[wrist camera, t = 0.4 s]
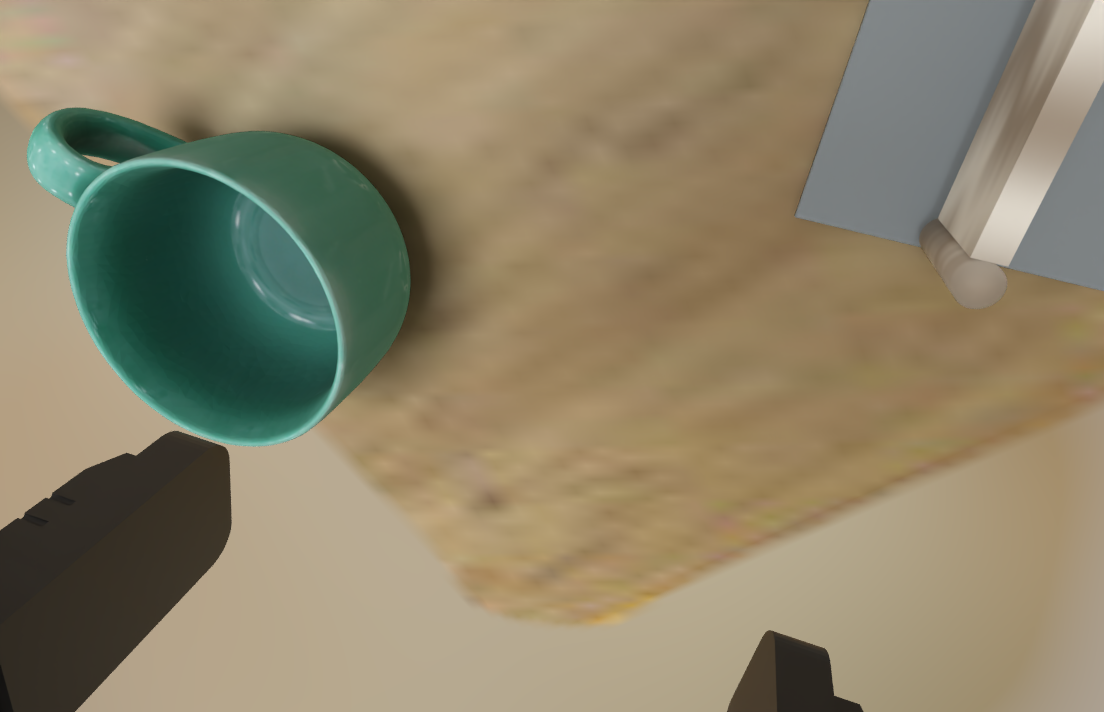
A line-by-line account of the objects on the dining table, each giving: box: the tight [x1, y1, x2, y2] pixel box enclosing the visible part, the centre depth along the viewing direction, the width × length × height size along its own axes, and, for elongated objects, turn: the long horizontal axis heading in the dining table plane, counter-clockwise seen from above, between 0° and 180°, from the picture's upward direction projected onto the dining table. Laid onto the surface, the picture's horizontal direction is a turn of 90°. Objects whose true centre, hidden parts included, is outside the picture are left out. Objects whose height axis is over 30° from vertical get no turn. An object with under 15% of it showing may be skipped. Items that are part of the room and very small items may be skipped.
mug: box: [27, 108, 411, 447], centre depth 33 cm, size 17×13×10 cm
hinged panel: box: [919, 0, 1104, 309], centre depth 24 cm, size 13×2×6 cm, turn 170°
